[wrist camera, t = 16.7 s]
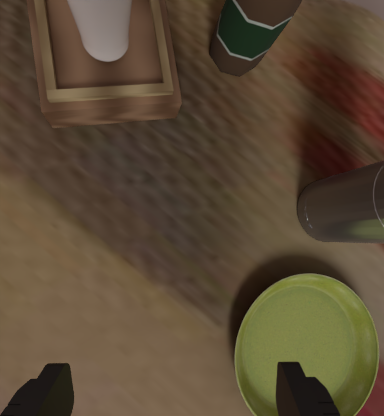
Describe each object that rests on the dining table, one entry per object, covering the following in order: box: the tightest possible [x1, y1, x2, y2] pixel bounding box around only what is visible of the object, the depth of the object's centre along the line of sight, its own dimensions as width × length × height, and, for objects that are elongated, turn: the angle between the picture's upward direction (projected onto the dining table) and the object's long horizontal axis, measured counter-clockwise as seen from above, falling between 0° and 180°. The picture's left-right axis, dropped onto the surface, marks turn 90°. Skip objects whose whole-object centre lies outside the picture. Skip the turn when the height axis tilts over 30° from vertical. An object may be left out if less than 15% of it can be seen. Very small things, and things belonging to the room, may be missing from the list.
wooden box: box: [27, 0, 182, 128], centre depth 37 cm, size 16×16×6 cm
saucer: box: [234, 273, 379, 416], centre depth 40 cm, size 21×21×3 cm
